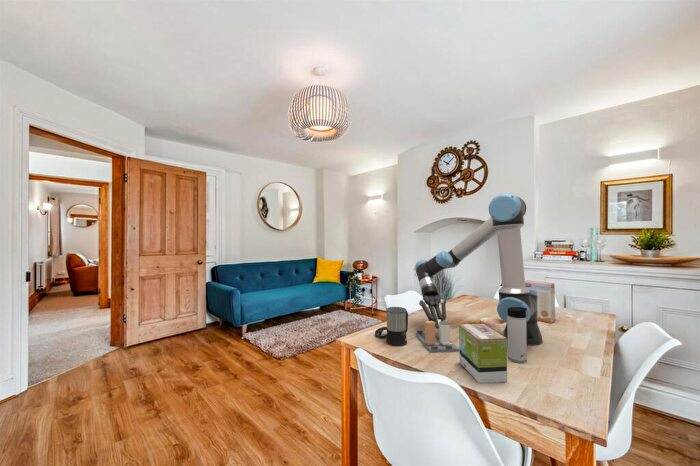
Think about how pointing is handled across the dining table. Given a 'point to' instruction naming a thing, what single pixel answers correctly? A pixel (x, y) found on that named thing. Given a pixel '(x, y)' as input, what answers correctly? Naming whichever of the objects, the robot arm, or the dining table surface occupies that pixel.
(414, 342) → the dining table surface
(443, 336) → the ivory fader tab
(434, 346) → the fader console
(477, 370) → the tea box
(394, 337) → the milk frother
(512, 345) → the travel mug
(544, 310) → the cracker box
